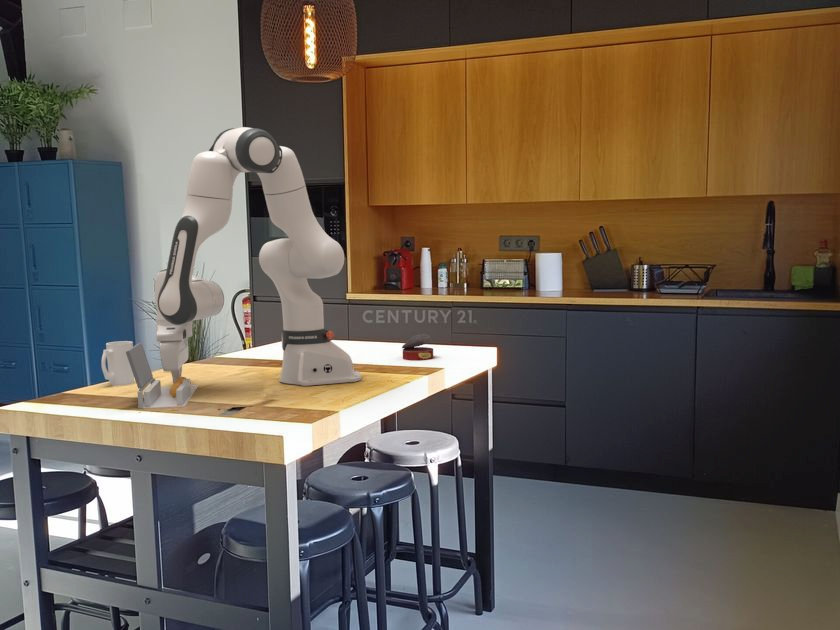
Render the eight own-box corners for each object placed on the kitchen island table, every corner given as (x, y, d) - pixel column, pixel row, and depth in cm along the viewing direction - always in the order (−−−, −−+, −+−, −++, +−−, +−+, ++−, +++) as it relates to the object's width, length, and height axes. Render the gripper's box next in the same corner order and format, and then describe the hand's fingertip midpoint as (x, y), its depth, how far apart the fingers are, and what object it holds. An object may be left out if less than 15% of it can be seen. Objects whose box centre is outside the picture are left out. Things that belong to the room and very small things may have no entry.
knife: (225, 419, 173) (204, 418, 175) (226, 424, 174) (205, 423, 175) (267, 395, 195) (248, 394, 196) (267, 399, 195) (248, 398, 196)
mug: (121, 383, 220) (119, 340, 219) (140, 385, 217) (138, 341, 216) (93, 390, 211) (90, 345, 210) (113, 392, 208) (110, 346, 207)
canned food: (407, 375, 251) (392, 348, 250) (412, 366, 261) (397, 340, 260) (439, 359, 249) (423, 331, 248) (442, 350, 259) (427, 324, 257)
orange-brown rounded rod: (181, 390, 206) (190, 383, 206) (174, 399, 194) (184, 392, 195) (173, 381, 206) (183, 374, 206) (166, 390, 194) (176, 382, 194)
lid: (141, 342, 197) (137, 343, 197) (129, 350, 182) (125, 352, 182) (154, 379, 199) (150, 381, 198) (143, 391, 184) (139, 392, 184)
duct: (198, 388, 211) (198, 370, 210) (185, 410, 184) (184, 389, 184) (157, 390, 209) (156, 372, 208) (138, 412, 183) (136, 391, 182)
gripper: (168, 326, 216) (171, 376, 217) (154, 335, 196) (157, 391, 197) (192, 325, 217) (195, 375, 218) (181, 334, 196) (184, 389, 198)
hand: (177, 383), depth 207 cm, fingers closed
